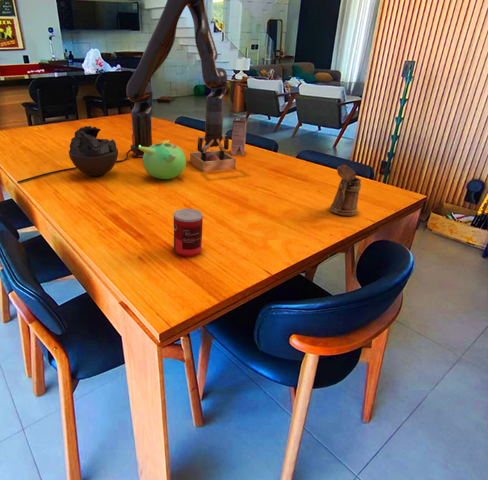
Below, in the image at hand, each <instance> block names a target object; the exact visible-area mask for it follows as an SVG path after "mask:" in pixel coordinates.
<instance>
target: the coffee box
mask: <svg viewBox="0 0 488 480" xmlns="http://www.w3.org/2000/svg"><path fill="white" fill-rule="evenodd" d="M247 127H248V117H234V118H233V120H232V130H231V132H232V133H231V145H230V156H231V155H233V156H241V157H243V156H244V154H245V152H246V151H245V149H246V139H247Z"/></svg>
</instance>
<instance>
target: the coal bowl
mask: <svg viewBox="0 0 488 480" xmlns="http://www.w3.org/2000/svg"><path fill="white" fill-rule="evenodd" d="M100 132H101V128H98V127H96V126H93V127H92V126H91V125H84V126H81V127H80V128H78V129H77V130H75V131H74V137H72V138H71V139H70V144H69V150H68V156H69V159H70V161H71V162H72V164H73V166H74V167H76V168H77V170H79V171H80V173H83V174H84V175H88V176H91V177H92V176H93V177H97V176H102V175H105V174H106V173H109V172H110V171H111V170H112V169H113V168H114V167H115V165H116V163H117V162H116V161H118V156H119V149H118V148H117V143H116V141H115V139H111V140H110V139H107V138H97V137H98V135H99V133H100Z"/></svg>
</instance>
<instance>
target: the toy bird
mask: <svg viewBox="0 0 488 480" xmlns="http://www.w3.org/2000/svg"><path fill="white" fill-rule="evenodd" d="M138 148H139V149H140V150H141V151H143V152H144V155H143V158H142V166H143V168H144V170H145V172H146V173H147V174H148V175H150V176H152V177H153V178H156V179H159V180H172V179H175V178H177V177H179V176H180V175H181V174H183V172H184V171H185V169H186V166H187V156H186V155H185V152H184V151H183V150H182V148H180V147H179V146H178V145H176V144H174V143H170V139H165V140H163V141H161V142H157V143H152V145H151V146H150V147H138Z"/></svg>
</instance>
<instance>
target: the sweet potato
mask: <svg viewBox="0 0 488 480" xmlns="http://www.w3.org/2000/svg"><path fill="white" fill-rule="evenodd" d="M217 160H220V159H219V158H218V157H217V156H216V155H214V154H212V153H207V154H206V161H217Z"/></svg>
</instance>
